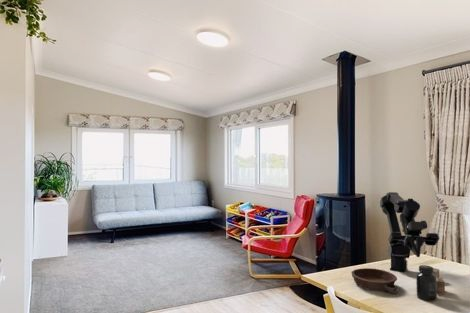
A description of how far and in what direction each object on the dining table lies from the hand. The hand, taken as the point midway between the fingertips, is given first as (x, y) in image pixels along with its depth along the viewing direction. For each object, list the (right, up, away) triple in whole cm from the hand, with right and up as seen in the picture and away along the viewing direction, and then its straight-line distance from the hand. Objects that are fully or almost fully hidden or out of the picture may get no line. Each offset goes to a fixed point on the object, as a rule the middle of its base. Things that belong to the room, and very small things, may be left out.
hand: (418, 256), depth 141 cm
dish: (-16, -14, +5) cm, 22 cm away
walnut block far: (+12, -14, +12) cm, 21 cm away
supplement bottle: (-1, -14, -8) cm, 16 cm away
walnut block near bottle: (+7, -14, -1) cm, 15 cm away
